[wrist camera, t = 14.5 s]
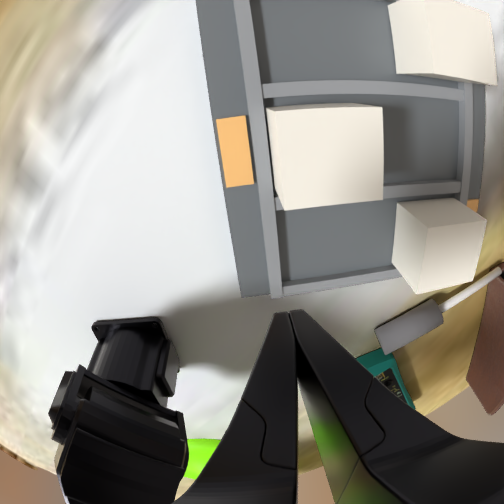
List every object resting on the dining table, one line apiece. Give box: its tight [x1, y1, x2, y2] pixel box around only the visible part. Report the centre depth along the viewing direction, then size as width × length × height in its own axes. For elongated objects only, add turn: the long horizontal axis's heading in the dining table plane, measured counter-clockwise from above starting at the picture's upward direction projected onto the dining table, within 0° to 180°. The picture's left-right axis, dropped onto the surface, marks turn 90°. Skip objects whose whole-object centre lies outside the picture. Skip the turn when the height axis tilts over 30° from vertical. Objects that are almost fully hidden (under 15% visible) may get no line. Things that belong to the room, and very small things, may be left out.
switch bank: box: [196, 0, 485, 299], centre depth 17 cm, size 19×20×2 cm
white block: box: [392, 198, 487, 295], centre depth 18 cm, size 5×5×4 cm
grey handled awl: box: [374, 267, 502, 355], centre depth 24 cm, size 14×3×3 cm
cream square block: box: [388, 0, 497, 86], centre depth 12 cm, size 5×5×4 cm
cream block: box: [265, 103, 384, 211], centre depth 15 cm, size 5×5×4 cm
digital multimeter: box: [356, 348, 415, 409], centre depth 30 cm, size 7×15×3 cm, turn 33°
